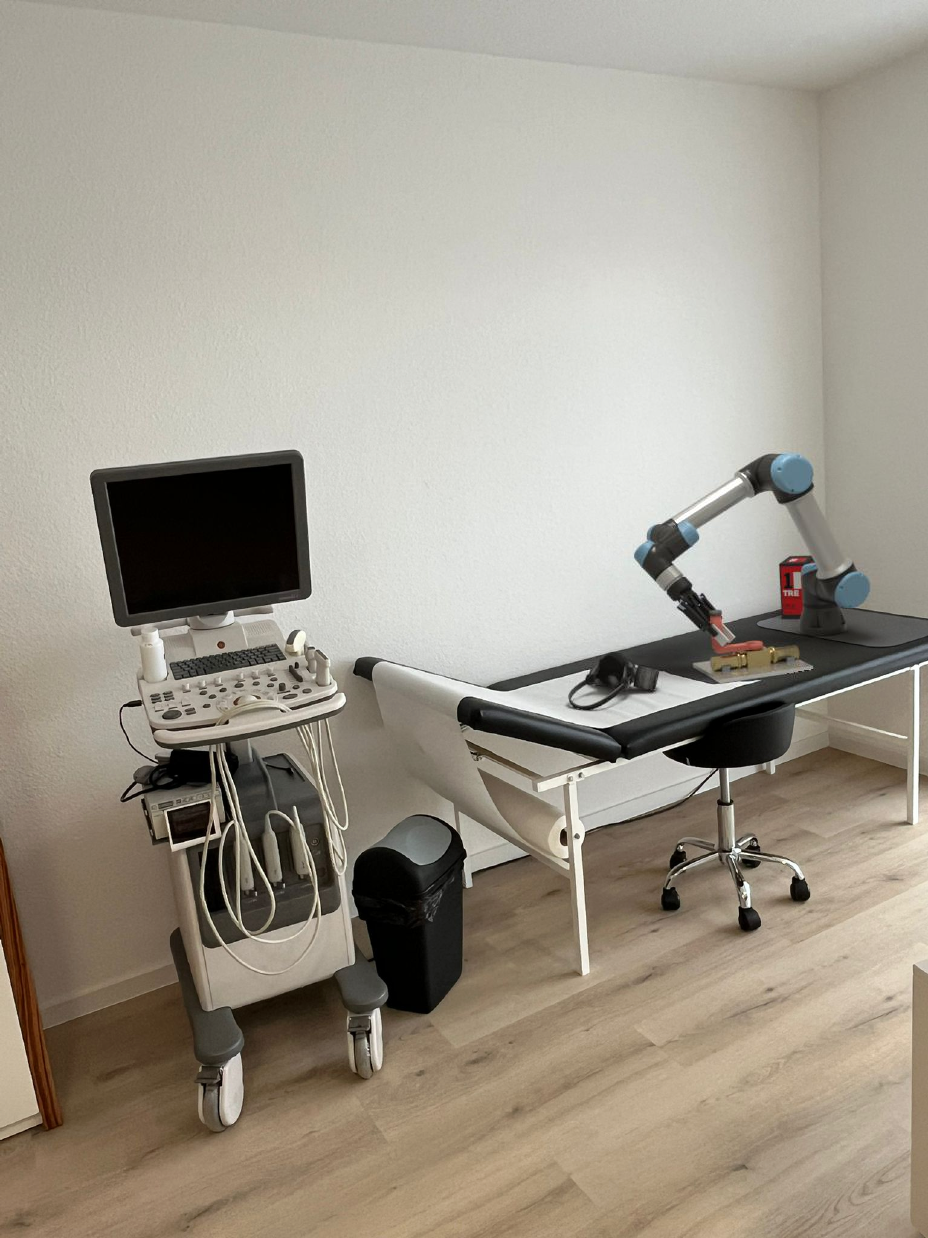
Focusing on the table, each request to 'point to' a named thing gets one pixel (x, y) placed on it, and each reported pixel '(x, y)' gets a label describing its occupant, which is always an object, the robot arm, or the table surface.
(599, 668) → the respirator mask
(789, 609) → the cleaning product box
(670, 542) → the robot arm
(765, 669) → the valve
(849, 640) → the table surface
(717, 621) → the lever
